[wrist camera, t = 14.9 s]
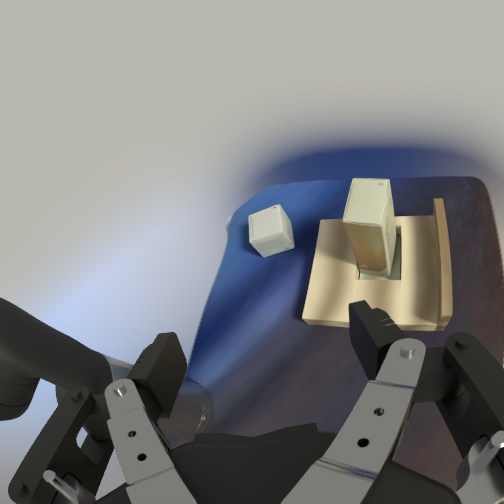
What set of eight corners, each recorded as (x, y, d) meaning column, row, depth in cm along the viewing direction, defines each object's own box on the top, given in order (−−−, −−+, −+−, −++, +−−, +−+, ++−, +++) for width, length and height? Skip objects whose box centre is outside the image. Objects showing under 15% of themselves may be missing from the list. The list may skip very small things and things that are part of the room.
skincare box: (368, 235, 37) (352, 174, 28) (397, 239, 35) (390, 176, 26) (359, 275, 35) (340, 221, 26) (389, 280, 32) (382, 225, 24)
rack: (307, 323, 35) (292, 308, 31) (325, 229, 42) (313, 205, 37) (443, 330, 26) (452, 315, 21) (439, 226, 32) (442, 198, 28)
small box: (261, 231, 48) (247, 214, 45) (291, 221, 46) (280, 202, 43) (262, 259, 45) (248, 243, 41) (295, 248, 43) (283, 230, 39)
